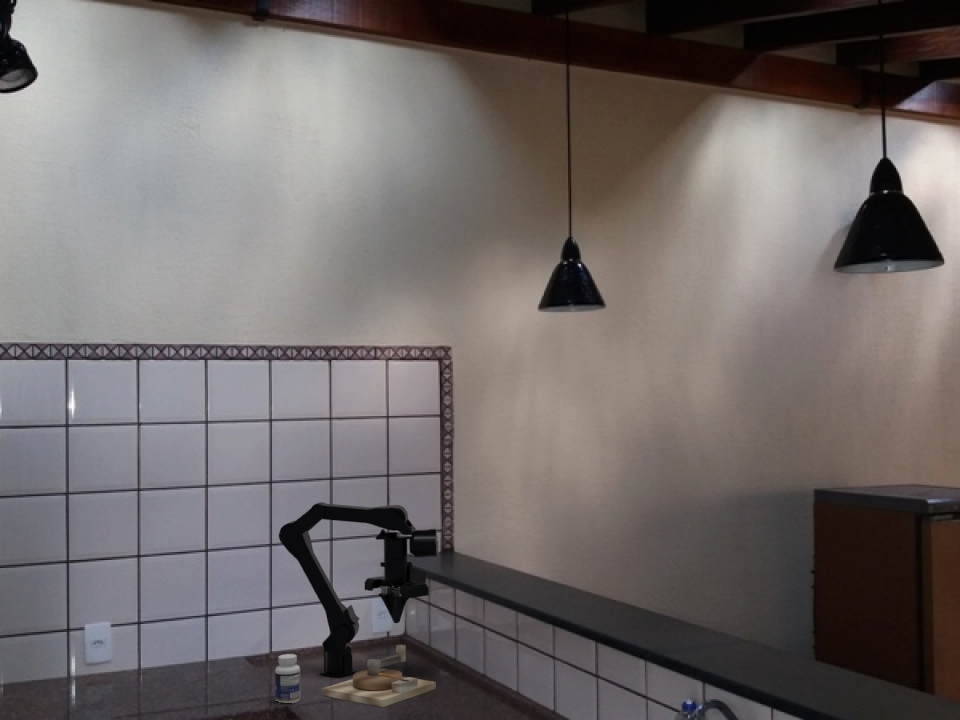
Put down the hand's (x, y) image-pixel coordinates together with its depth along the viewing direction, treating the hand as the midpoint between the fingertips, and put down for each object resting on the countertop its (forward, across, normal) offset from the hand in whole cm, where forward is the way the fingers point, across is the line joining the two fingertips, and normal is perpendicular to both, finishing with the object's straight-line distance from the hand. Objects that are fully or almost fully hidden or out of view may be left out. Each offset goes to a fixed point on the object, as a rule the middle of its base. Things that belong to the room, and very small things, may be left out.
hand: (396, 622), depth 255 cm
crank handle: (+10, -10, +11) cm, 18 cm away
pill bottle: (+12, -3, +32) cm, 35 cm away
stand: (+12, -11, +14) cm, 21 cm away
